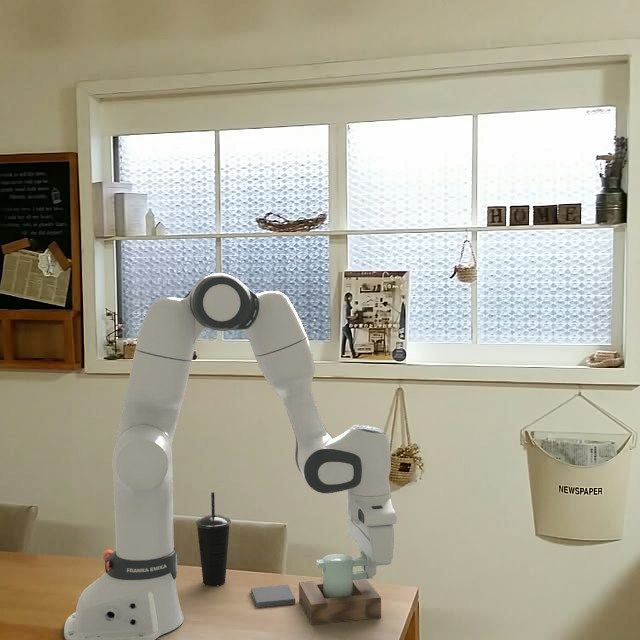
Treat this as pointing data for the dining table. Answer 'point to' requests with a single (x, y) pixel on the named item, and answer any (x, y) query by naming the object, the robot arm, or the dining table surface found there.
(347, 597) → the stand
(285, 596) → the mat
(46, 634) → the dining table surface
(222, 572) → the drinking cup
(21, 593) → the dining table surface
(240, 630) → the dining table surface
